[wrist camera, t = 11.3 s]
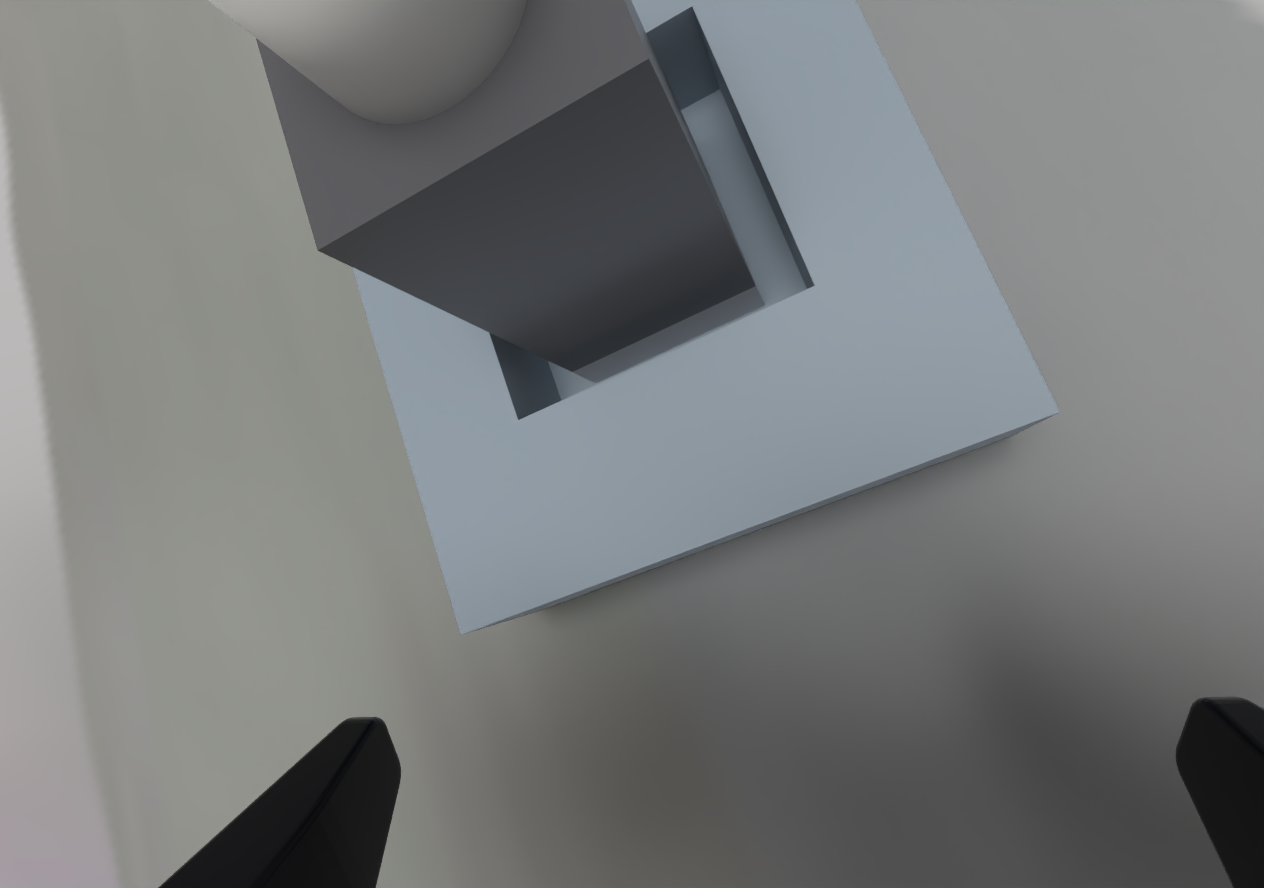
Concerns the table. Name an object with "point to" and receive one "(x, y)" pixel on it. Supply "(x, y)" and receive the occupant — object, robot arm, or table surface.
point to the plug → (506, 168)
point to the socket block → (725, 338)
